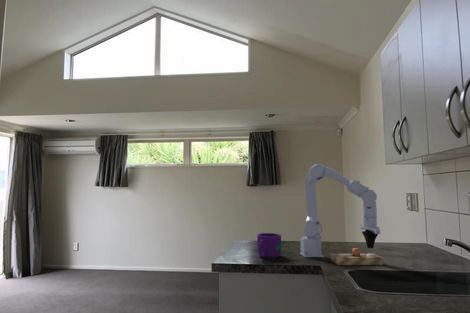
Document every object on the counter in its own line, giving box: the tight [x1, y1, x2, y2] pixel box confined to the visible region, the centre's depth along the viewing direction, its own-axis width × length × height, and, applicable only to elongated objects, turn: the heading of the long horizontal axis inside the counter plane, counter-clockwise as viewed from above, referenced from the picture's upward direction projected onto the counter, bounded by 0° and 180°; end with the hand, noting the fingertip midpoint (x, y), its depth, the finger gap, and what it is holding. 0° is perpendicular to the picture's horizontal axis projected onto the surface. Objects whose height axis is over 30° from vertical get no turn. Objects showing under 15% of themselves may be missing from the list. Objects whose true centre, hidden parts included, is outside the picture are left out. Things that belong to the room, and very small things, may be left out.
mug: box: [256, 232, 282, 259], centre depth 156 cm, size 17×11×10 cm, turn 152°
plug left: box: [337, 253, 347, 257], centre depth 146 cm, size 3×3×3 cm
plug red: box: [352, 247, 361, 257], centre depth 146 cm, size 3×3×3 cm
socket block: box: [330, 252, 384, 266], centre depth 146 cm, size 20×8×3 cm, turn 94°
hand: (370, 247), depth 147 cm, fingers closed
